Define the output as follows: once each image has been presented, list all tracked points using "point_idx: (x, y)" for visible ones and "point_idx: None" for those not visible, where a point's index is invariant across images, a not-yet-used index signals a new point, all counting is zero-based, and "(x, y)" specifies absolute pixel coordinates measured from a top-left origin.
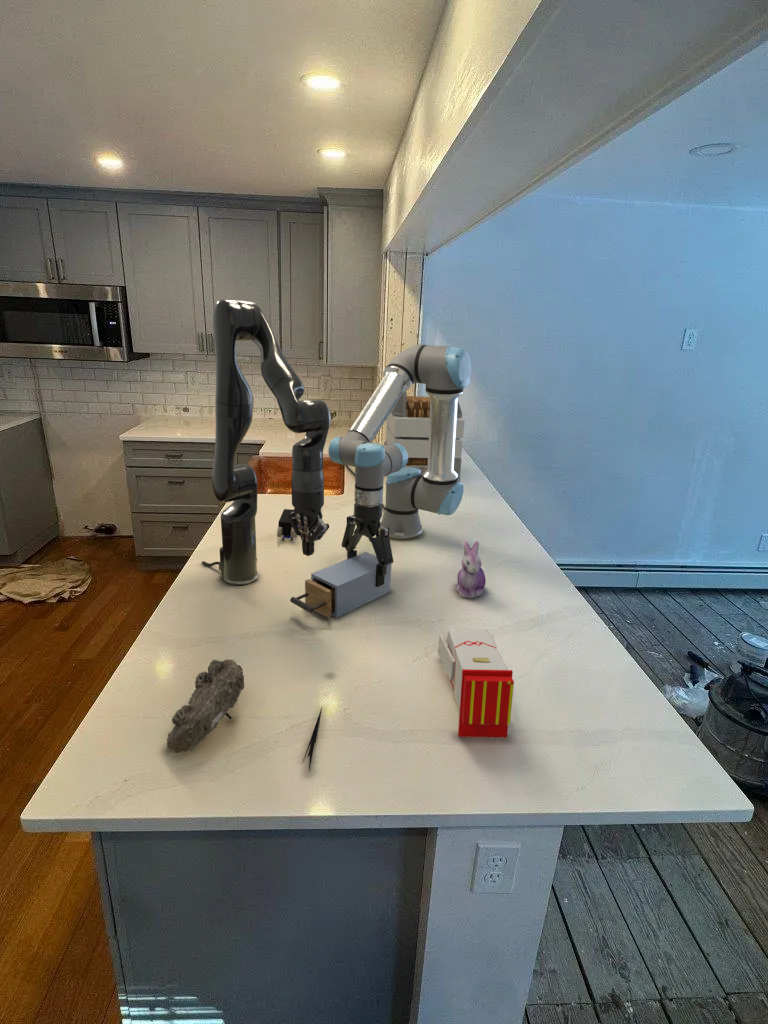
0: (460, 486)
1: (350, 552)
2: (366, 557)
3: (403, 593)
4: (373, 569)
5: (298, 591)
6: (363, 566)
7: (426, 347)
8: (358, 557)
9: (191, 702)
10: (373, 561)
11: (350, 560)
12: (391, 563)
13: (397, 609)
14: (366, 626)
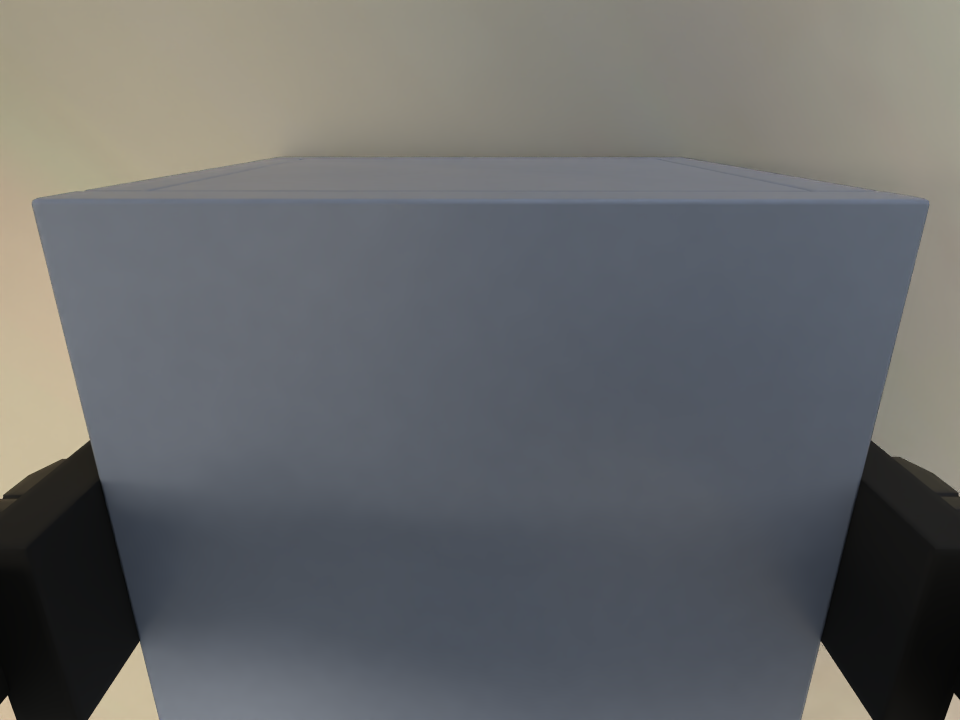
0: None
1: (44, 704)
2: (314, 419)
3: (828, 64)
4: (788, 676)
5: (115, 711)
6: (575, 707)
7: None
8: (216, 534)
9: None
10: (565, 454)
11: (236, 698)
12: (915, 199)
13: (940, 380)
14: (855, 702)
